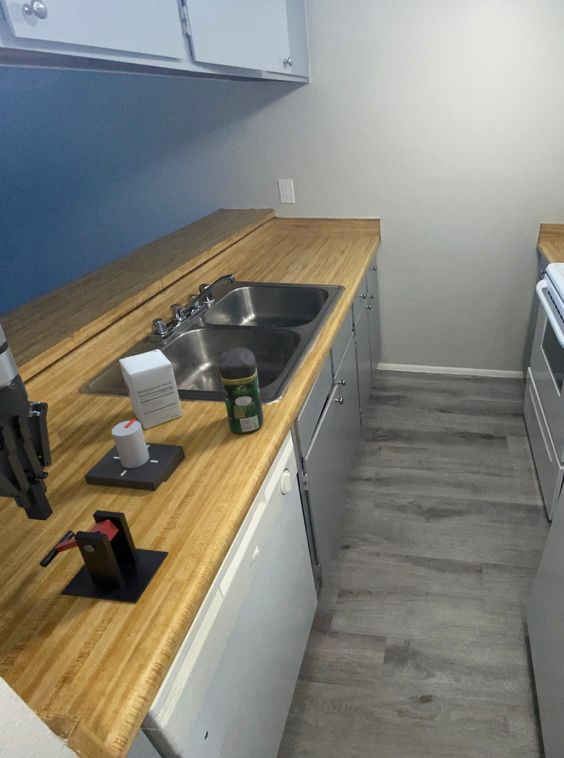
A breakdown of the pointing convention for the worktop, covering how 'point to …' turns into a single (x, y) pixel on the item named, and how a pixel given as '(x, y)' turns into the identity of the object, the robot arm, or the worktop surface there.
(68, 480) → the worktop surface
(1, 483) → the robot arm
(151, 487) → the dial panel
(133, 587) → the black lever stand
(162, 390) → the white product box
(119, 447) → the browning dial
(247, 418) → the coffee jar
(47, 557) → the red lever
